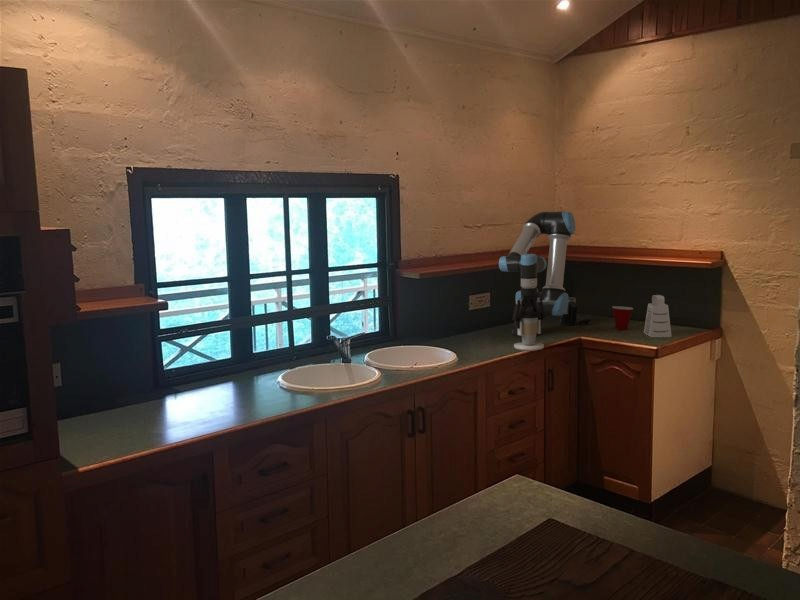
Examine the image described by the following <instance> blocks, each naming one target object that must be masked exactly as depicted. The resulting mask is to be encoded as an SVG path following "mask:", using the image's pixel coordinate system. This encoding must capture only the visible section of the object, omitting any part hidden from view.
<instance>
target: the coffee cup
mask: <svg viewBox="0 0 800 600" xmlns="http://www.w3.org/2000/svg"><path fill="white" fill-rule="evenodd" d="M538 317H539V315H538V313H537V312H534V311H525V312H524V314H523V316H522V319H521V321H520V322H522V336H521V341H522V343H523V344H525V345H533V344H535V342H536V339H537V335H536V334H537V325H538V322H537V321H538Z"/></svg>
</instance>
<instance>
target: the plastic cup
mask: <svg viewBox="0 0 800 600" xmlns="http://www.w3.org/2000/svg"><path fill="white" fill-rule="evenodd" d="M611 308H612V311H613V318H614V323H615V329H616V330H618V329H619V331H625V330H626V329H627V330H628V329H629V324H630V319H631V316H632V312H633V310H634V308H633V307H629V306H618V305H615V306H614V305H613V306H612V307H611Z"/></svg>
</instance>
